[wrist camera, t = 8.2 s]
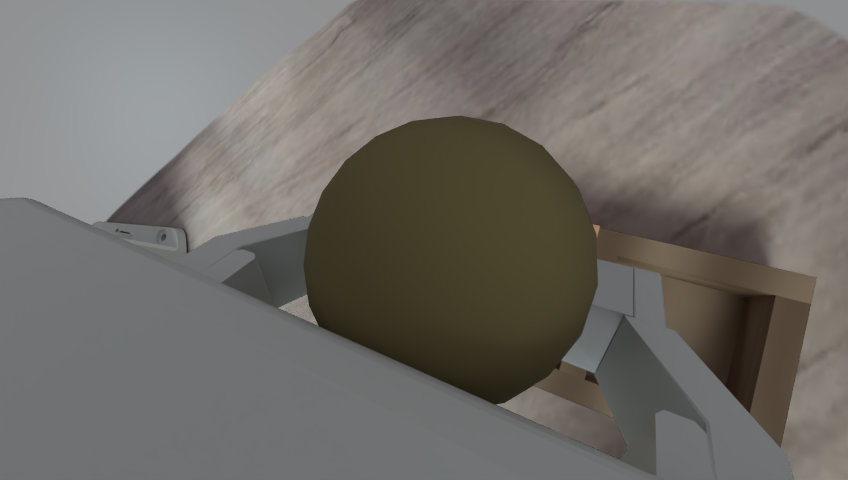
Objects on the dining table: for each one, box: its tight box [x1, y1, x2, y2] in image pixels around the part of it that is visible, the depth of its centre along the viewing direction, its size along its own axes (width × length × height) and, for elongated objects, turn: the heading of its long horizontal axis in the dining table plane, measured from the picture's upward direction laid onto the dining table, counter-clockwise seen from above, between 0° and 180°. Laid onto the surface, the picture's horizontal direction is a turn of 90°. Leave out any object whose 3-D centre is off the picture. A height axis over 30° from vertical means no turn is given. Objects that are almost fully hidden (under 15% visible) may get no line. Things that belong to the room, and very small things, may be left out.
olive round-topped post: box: [303, 116, 598, 404], centre depth 10 cm, size 6×6×11 cm
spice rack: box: [533, 224, 817, 447], centre depth 24 cm, size 20×11×4 cm, turn 72°
